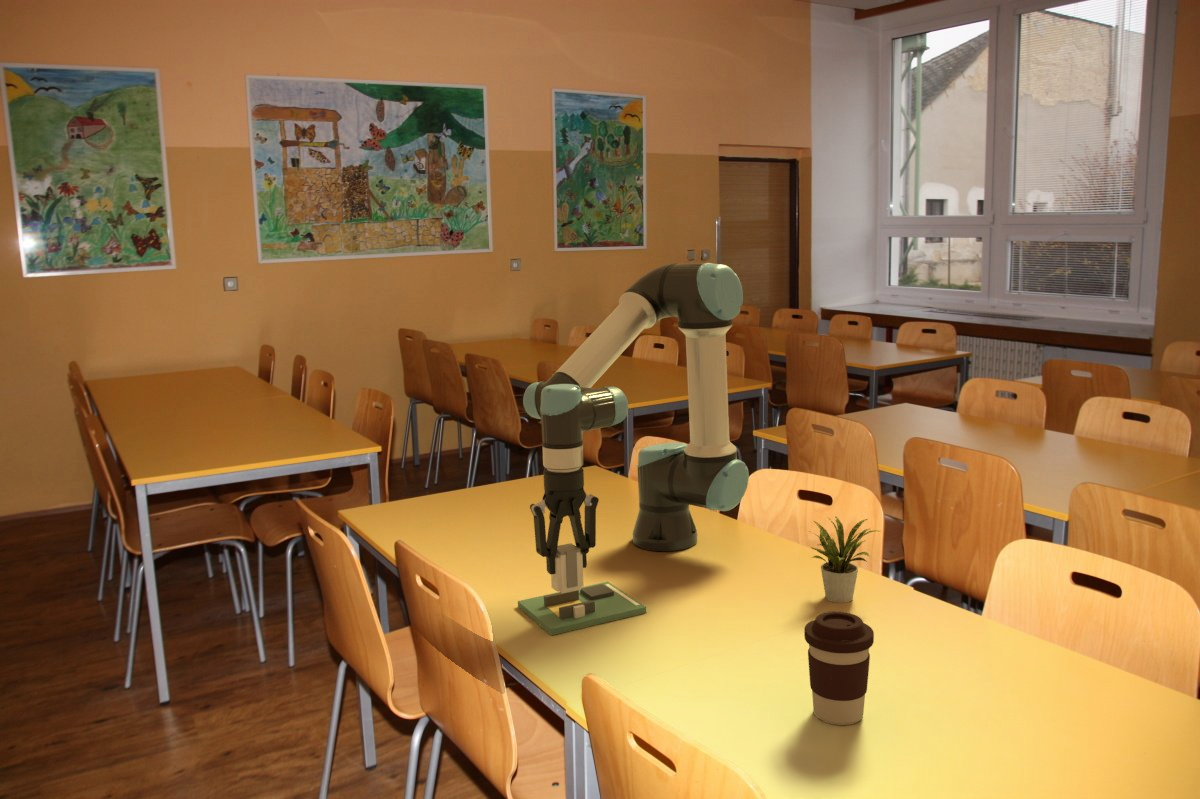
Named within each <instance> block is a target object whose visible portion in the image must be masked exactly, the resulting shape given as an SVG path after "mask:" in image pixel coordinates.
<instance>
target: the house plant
mask: <svg viewBox="0 0 1200 799" xmlns="http://www.w3.org/2000/svg"><path fill="white" fill-rule="evenodd" d="M834 517H835V518H834V520H835V523H836V524H835V523H834V522H833V520H832V519H831V518H828V520H829V521H830V522H831V524H832V525H833V527H834V529H835V532H836V538H837V541H838V547H837V543H836V541H835V539H834V538H831V535H830V533H828V531H827V529H826V528H825V527H824V526H822V525H821V524H820V523H818V522H817V521H814V520H813V523H814V524H815V525H816V526H817V528H818V529H819V535H817V534H816V533H814V535H815V536H817V538H818V539H819V542H820V543H819V544H817V546H819V545H820V547H821V546H822V548H823V550H822V549H821V548H817V547H813V546H812V547H811V546H810V549H812V550H814V551H817V553H818V554H819V553H820V554H821V555H823V556H825V557H826V558H827V560H826V559H824V558H823V557H822V556H819V555H814V556H812V557H811V559H812V558H814V559H820V560H823V561H824V563H822V564H821V566H820V570H821V576H822V583H823V584H822V585H823V589H824V594H825V599H826V600H828V601H829V602H833V603H840V604H843V603H848V602H849V603H850V602H851V601H853V599H854V594H855V588H856V582H857V577H858V571H859V567H858V565H856V564H853V563H851V562H855V561H863V562H866V563H868V560H866V559H865V558H863V557H857V556H862V555H863V556H868V557H869V558H870V554H869V553H868V552H867V551H861V552H858V553H857V554H855V552H856V551H857V550H858V548H859V547H860V546H861V545H862V544H863V543H865V542H866V540H862V541H860V540H861V539H862V538H863V537H865V536H866V535H869V534H870V533H874V532H879V533H880V530H877V529H875V530H871V528H866V529H864V530H862V531H861V532H859V533H857V530H858V529H859V528H860V527H861V526H862V524H863V523H865V522H867V521H868V520H869V518H866V519H863V520H860V521H858V522H857V523H856V524H855V525H854V526H853V527H852V528H851V530H850V532H849V534H848V535H847V539H846V541H845V534H844V532H845V531H844V526H843V523H842V522H841V520H840V519H839V518H838V516H836V515H835V516H834ZM807 532H809V533H811V531H808V530H807ZM859 541H860V542H859ZM838 548H839V549H838ZM854 554H855V555H854ZM853 555H854V556H853Z"/></svg>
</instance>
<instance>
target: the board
mask: <svg viewBox="0 0 1200 799" xmlns="http://www.w3.org/2000/svg"><path fill="white" fill-rule="evenodd" d="M517 608H519V609H520V610H521V611H522V612H523V613H524V614H526V615H527V616H528V617H529V618H530V619H532V621H534V622H535V623H536V624H538V626H540V627H541V628H542V629H543V630H544V631H546V633H548V634H549V635H550V636H554V635H559V634H562V633H567V632H571V631H572V632H573V631H575V630H580V629H584V628H588V627H593V626H596V625H601V624H604V623H610V622H615V621H617V620H621V619H622V620H623V619H625V618H626V619H627V618H631V617H635V616H637V615H638V616H639V615H643V614H647V606H645V605H644V604H643V603H641V601H638V599H635V598H634V597H632V596H631V595H629V594H627V593H626V592H624V591H623V590H621V589H619V587H616V586H615V585H614V584H612V583H610V582H609V581H605V582H599V583H595V584H590V585H586V586H585V585H584V586H583V587H581V590H576V591H571V592H567V593H561V592H560V591H559V592H557V591H556V592H553V593H549V594H544V595H540V596H536V597H531V598H525V599H521V600H517Z"/></svg>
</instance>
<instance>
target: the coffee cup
mask: <svg viewBox="0 0 1200 799" xmlns="http://www.w3.org/2000/svg"><path fill="white" fill-rule="evenodd" d="M803 632H804V634H803V636H804V640H805V641H806V643H807V644H808V649H807V656H808V657H807V660H808V670H809V671H808V672H809V674H808V675H809V684H810V689H811V691H812V692H811V693H812V694H811V695H812V707H813V714H814V715H815V716H816V717H817V719H819V720H821V721H822V722H825V723H826V724H827V723H828V724H832V725H836V726H849V725H853V724H855V723H858V722H859V721H861V720H862V718H863V716H864V711H865V698H866V693H867V690H868V685H869V684H868V682H869V671H870V660H871V659H870V658H871V654H870V648H871V647H872V646H873V645H874V640H875V634H874V633H875V632H874V630H873V628H872V627H871V626H870V625H868V624H867V623H865V622H864V620H863V619H862V618H861V617H860V616H858V615H856V614H853V613H850V612H847V611H846V612H845V611H838V610H836V611H835V610H834V611H833V610H832V611H826V612H822V613H819V614H818V615H817V616H816V617H815V619H814V620H813V619H812V620H811V621H809V622H808V623H806V624H805V626H804V631H803Z"/></svg>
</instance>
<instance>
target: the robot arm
mask: <svg viewBox="0 0 1200 799" xmlns="http://www.w3.org/2000/svg"><path fill="white" fill-rule="evenodd" d="M743 293H744V292H743V285H742V283H741V281H740V278H739V277H738V275H737V273H735V272H734V270H733V269H732V268H731V267H729V266H728V265H726V264H719V263H713V262H704V263H667V264H663V265H660V266H658V267H656V268H653V269H652V270H650V271H649V272H647V273H645V274H644V275H643V276H641V277H640V278H639V279H637V280H636V281H635V282H633V283H632V284H631V285H630V286H629V287H628V288H627V289H626V290H625V291H624V293H623V294H621V296H620V297H619V299H618V305H617V306H616V307H615V309H613V310H612V312H611V313H610V314H609V315H608V316H607V317H606V318H605V319H604V320H603V321H602V322H601V323H600V324H599V325H598V327H597V328H596V329H595V330H594V331H593V332H592V333H591V334H590V335H589V336H588V337H587V338H586V339H585V340H584V342H583V343H581V344H580V346H578V348H576V350H575V351H573V353H572V354H571V355H570V356H569V357H568V358H567V359H566V361H564V363H562V365H561V366H560V367H559V368H558V369H557V370H556V371H555V372H554V373H553V374H552V375H551V376H550V377H549V378H548V380H546V381H539V382H538V381H537V382H533V383H531V384H529V385H528V386H527V388H526V389H525V391H524V393H523V399H522V401H523V402H522V404H523V409H524V410H525V412H526V414H527V415H529V416H530V417H531V418H533V419H537V420H541V421H540V422H541V438H542V439H541V440H542V442H541V444H542V465H543V467H544V469H543V473H542V474H543V490H544V492H543V496H542V500H541V501H539V502H537V503H536V504H535V503H531V504H530V505H529V509H530V512H531V513H532V516H533V525H534V526H533V527H534V528H533V529H534V537H535V540H534V542H535V550H536V551H535V552H536V553H537V554H538V555H539V556H541V557H542V558H546V571H547V573H548V574H549V575H550V576H551V583H550V584H551V588H552V589H553V590H554V591H556V593H557V592H560V591H561V578H560V558H559V557H558V556H556V553H557V546H559V540H560V539H559V538H560V533H561V525H562V523H563V520H564V518H565V517H567V516H568V518H569V522H570V527H571V530H572V535H573V539H574V545H575V546H576V547H578V548H580V559H581V587H584V569H585V568H587V565H588V562H587V554H588V553H590V549H591V548H592V549H593V548H595V547H596V545H597V544H596V541H597V532H596V531H597V526H596V525H597V522H596V520H597V516H596V515H597V508H598V504H599V502H600V500H599V497H597V496H595V495H593V494H587V493H586V491H585V489H584V487H585V481H584V480H585V475H584V473H585V472H584V468H583V467H582V466H584V449H583V448H584V444H583V441H584V440H583V439H584V438H583V436H584V435H583V434H584V433H585V432H589V431H593V430H599V429H602V428H607V427H608V428H610V427H612V426H615V425H617V424H620V423H622V422H623V421H624V420H625V419H626V418H627V416H628V413H629V401H628V398H627V396H626V394H625V393H624V392H623V390H622V389H620V388H619V387H616V386H603V387H600V388H592V387H593V386H594V385H595V384H596V382H597V381H598V380H599V379H600V378H601V377H602V376H603V375H604V374H605V373H606V372H607V370H608V369H609V368H610V367H611V366H612V365H613V364H614V363H615V361H617V359H618V358H620V356H621V355H622V354H623V352H625V350H626V349H628V348H629V346H630V345H631V344H632V343H633V342H634V341H635V339H636V338H637V337H638V336H639V335H640V334H641V333H642V332H643V330H645V329H646V330H647V329H651V328H652V327H653V326H655V324H656V323H657V322H658V321H660V320H662V319H665V318H672V317H673V318H677V328H678V330H679V331H680V332H681V333H683V334H684V336H685V348H686V349H685V351H686V375H687V397H688V398H687V399H688V400H687V401H688V418H689V419H688V420H689V422H688V423H689V442H688V444H687V443H685V442H665V443H664V442H663V443H659V444H654V445H653V444H651V445H649V446H645V447H643V448H642V449H640V451H639V452H638V453H637V455H638V456H637V465H636V467H637V481H638V483H637V486H638V487H637V488H638V503H639V504H638V506H639V509H638V513H637V516H636V520H635V524H634V526H633V530H632V543H633V545H634V546H636V547H638V548H640V549H642V550H647V551H653V552H672V551H673V552H675V551H681V550H685V549H689V548H691V547H693V546H694V545H696V544H697V543H698V531H697V530H698V529H697V528H696V525H695V522H694V519H693V516H692V514H691V510H690V506H694V507H699V508H703V509H707V510H710V511H720V512H727V511H731V510H733V509H735V507H736V506H738V505H739V504H740V502H741V501H742V499H743V497H744V496H745V494H746V492H747V488H748V484H749V474H750V472H749V469H748V466H747V465H746V463H745V462H744V461H742V460H741V459H738V454H737V452H738V451H737V450H738V449H737V446H736V445H734V444H733V443H732V442H731V441H730V422H729V420H730V418H729V396H728V394H729V391H728V370H727V369H728V367H727V366H728V365H727V363H728V362H727V342H726V341H727V339H726V338H727V337H726V335H727V333H728V331H729V330H730V329H731V328H732V327H733V319H735V318H736V317H738V315H739V314H740V312H741V307H742V306H743V303H744V294H743ZM583 504H584V529H583V524H582V515H581V511H580V510H581V507H582V505H583ZM545 508H546V509H547V510H549V515H548V516H549V517H548V518H549V523H548V529H547V531H546V520H545V513H546V509H545ZM546 532H547V533H546ZM546 534H547V535H546Z"/></svg>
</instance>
